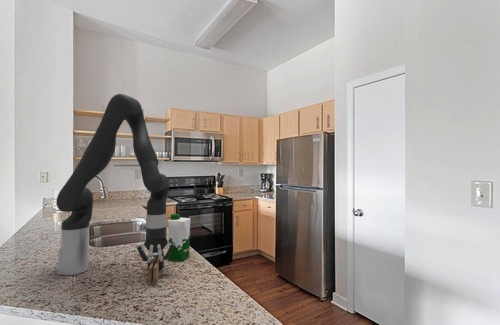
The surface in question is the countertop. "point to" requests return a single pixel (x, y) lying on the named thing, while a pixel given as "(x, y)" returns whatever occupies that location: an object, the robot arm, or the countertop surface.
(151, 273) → the tong frame
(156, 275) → the tong arm
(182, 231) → the milk carton
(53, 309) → the countertop surface
